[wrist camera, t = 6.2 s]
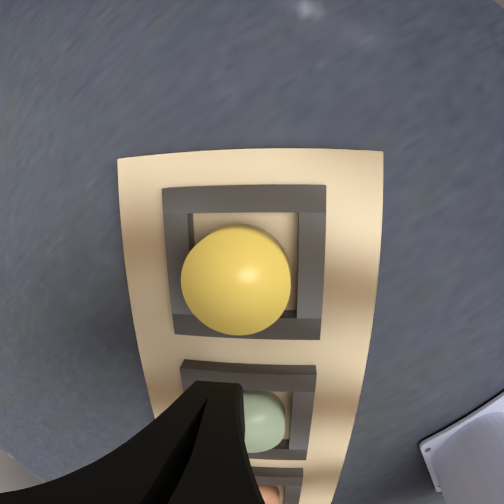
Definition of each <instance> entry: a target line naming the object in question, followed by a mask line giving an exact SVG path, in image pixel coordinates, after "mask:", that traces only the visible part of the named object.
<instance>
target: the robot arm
mask: <svg viewBox="0 0 504 504" xmlns="http://www.w3.org/2000/svg"><path fill="white" fill-rule="evenodd" d="M244 440H245V416H244V400H243V387H242V386H241V385H240V384H239V383H227V382H212V381H200V380H196V381H195V382H194V383H193V384H192V385H191V386H189V387H188V388H187V389H186V390H185V391H184V392H183V393H182V394H181V395H180V396H179V397H178V398H177V399H176V400H175V401H174V402H173V403H172V404H171V405H170V406H169V407H168V408H167V409H166V410H165V411H163V412H162V413H161V414H160V415H159V416H158V417H157V418H156V419H154V420H153V421H152V422H151V423H150V424H149V425H147V426H146V427H145V428H144V429H142V430H141V431H140V432H138V433H137V434H136V435H135V436H133V437H132V438H131V439H129V440H128V441H127V442H125V443H124V444H122V445H121V446H120V447H118V448H117V449H115V450H113V451H112V452H110V453H109V454H107V455H105V456H104V457H102V458H100V459H99V460H97V461H95V462H93V463H91V464H89V465H87V466H85V467H83V468H81V469H79V470H76V471H74V472H72V473H70V474H67V475H65V476H63V477H60V478H58V479H55V480H52V481H49V482H46V483H44V484H40V485H36V486H33V487H29V488H25V489H21V490H17V491H11V492H5V493H0V504H265V502H264V499H263V497H262V495H261V492H260V490H259V487H258V484H257V482H256V479H255V476H254V473H253V470H252V467H251V464H250V460H249V457H248V453H247V449H246V445H245V441H244ZM419 447H420V450H421V452H422V455H423V457H424V460H425V462H426V465H427V468H428V470H429V473H430V475H431V478H432V481H433V483H434V486H435V489H436V492H441V491H442V494H443V497H444V500H445V503H446V504H504V392H502V393H501V394H500V395H498V396H497V397H495V398H494V399H493V400H491V401H490V402H488V403H487V404H485V405H484V406H482V407H481V408H479V409H477V410H476V411H474V412H473V413H471V414H470V415H468V416H466V417H465V418H463V419H461V420H460V421H458V422H456V423H455V424H453V425H451V426H449V427H448V428H446V429H444V430H442V431H441V432H439V433H437V434H435V435H433V436H431V437H429V438H427V439H425V440H424V441H422V442H421V443H420V445H419Z"/></svg>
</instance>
